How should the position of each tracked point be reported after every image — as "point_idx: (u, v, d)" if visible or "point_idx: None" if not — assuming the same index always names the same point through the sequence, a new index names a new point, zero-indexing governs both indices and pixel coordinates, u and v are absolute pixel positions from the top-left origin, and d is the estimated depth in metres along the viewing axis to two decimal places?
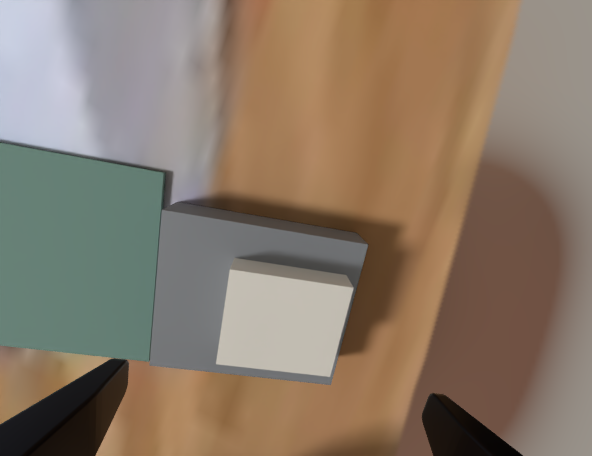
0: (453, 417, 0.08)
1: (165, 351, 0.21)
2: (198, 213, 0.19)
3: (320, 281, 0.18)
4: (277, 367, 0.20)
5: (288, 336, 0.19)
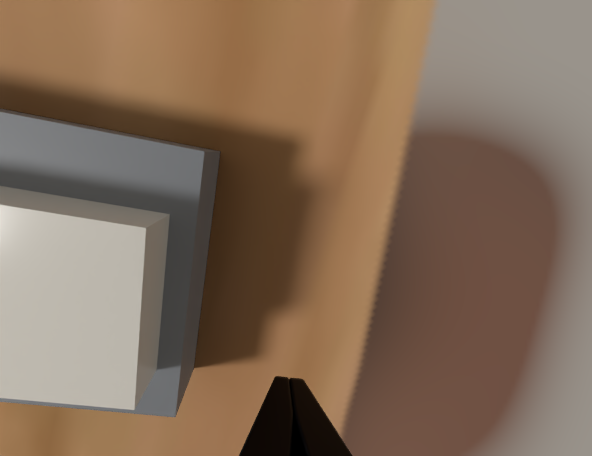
0: (292, 401, 0.07)
1: None
2: None
3: (76, 213, 0.09)
4: (20, 393, 0.10)
5: (25, 330, 0.09)
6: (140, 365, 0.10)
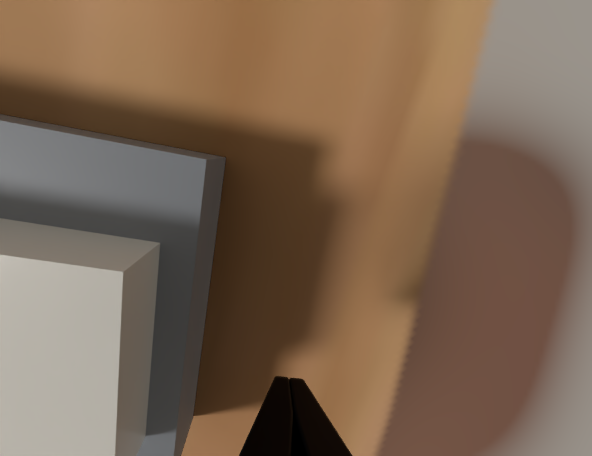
0: (292, 401, 0.07)
1: None
2: None
3: (22, 252, 0.06)
4: None
5: None
6: (120, 448, 0.08)
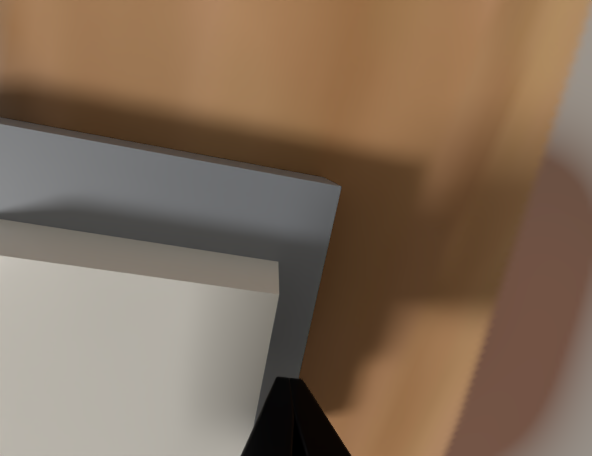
0: (291, 401, 0.07)
1: None
2: None
3: (184, 275, 0.06)
4: None
5: (108, 425, 0.07)
6: None
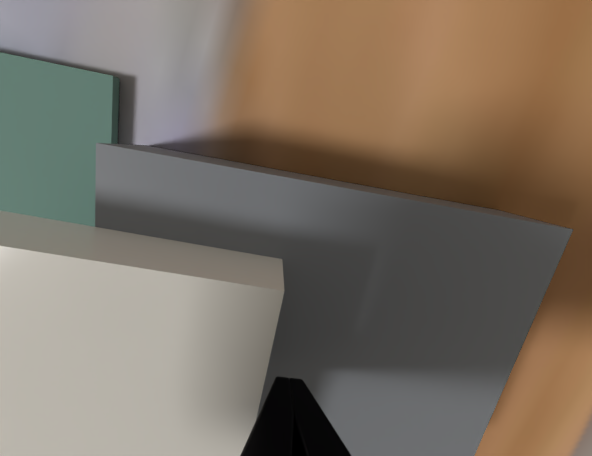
0: (291, 401, 0.07)
1: None
2: (189, 158, 0.08)
3: (190, 271, 0.06)
4: None
5: (110, 419, 0.07)
6: None
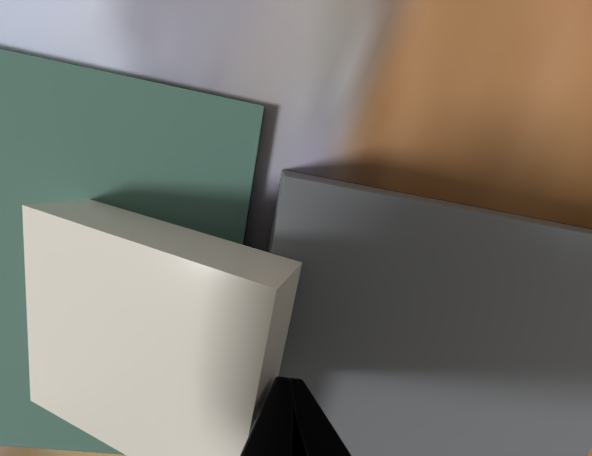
0: (291, 401, 0.07)
1: None
2: (353, 187, 0.09)
3: (199, 258, 0.07)
4: (125, 447, 0.09)
5: (137, 382, 0.08)
6: None
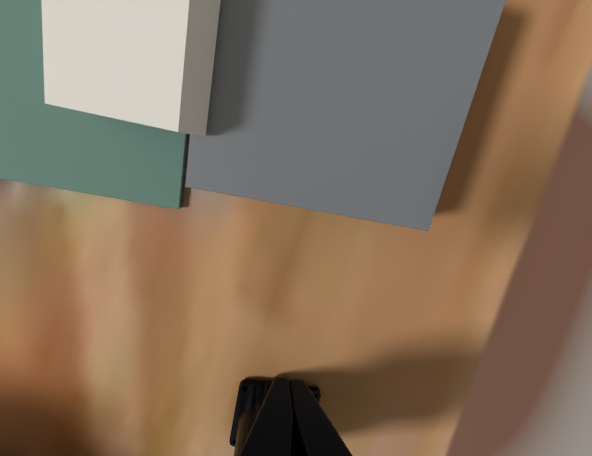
0: (292, 401, 0.07)
1: (208, 165, 0.15)
2: None
3: None
4: (109, 110, 0.13)
5: (115, 50, 0.12)
6: (186, 92, 0.12)
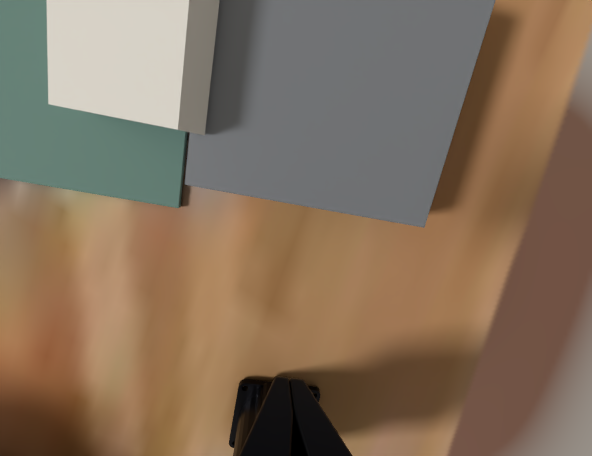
0: (292, 401, 0.07)
1: (207, 163, 0.15)
2: None
3: None
4: (111, 110, 0.14)
5: (118, 51, 0.13)
6: (185, 91, 0.13)
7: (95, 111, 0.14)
